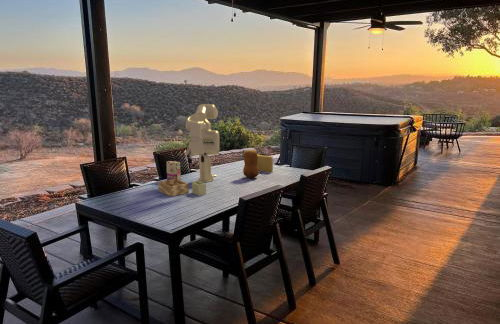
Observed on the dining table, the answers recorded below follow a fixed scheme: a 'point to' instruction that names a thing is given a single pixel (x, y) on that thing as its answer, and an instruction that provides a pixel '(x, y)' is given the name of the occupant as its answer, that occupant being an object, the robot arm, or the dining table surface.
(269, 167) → the cheese
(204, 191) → the small crate
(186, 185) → the wicker basket
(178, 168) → the candy bar box
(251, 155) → the butternut squash
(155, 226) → the dining table surface
